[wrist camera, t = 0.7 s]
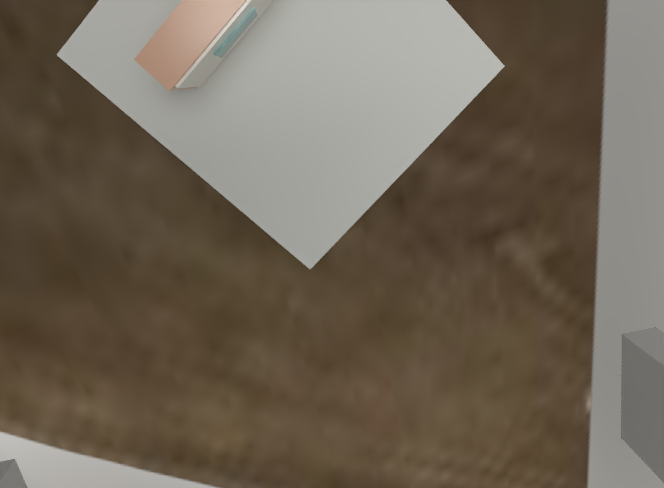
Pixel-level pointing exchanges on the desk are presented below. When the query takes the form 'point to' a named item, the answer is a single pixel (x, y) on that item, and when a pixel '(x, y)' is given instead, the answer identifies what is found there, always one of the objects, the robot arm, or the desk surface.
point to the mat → (297, 103)
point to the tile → (197, 40)
